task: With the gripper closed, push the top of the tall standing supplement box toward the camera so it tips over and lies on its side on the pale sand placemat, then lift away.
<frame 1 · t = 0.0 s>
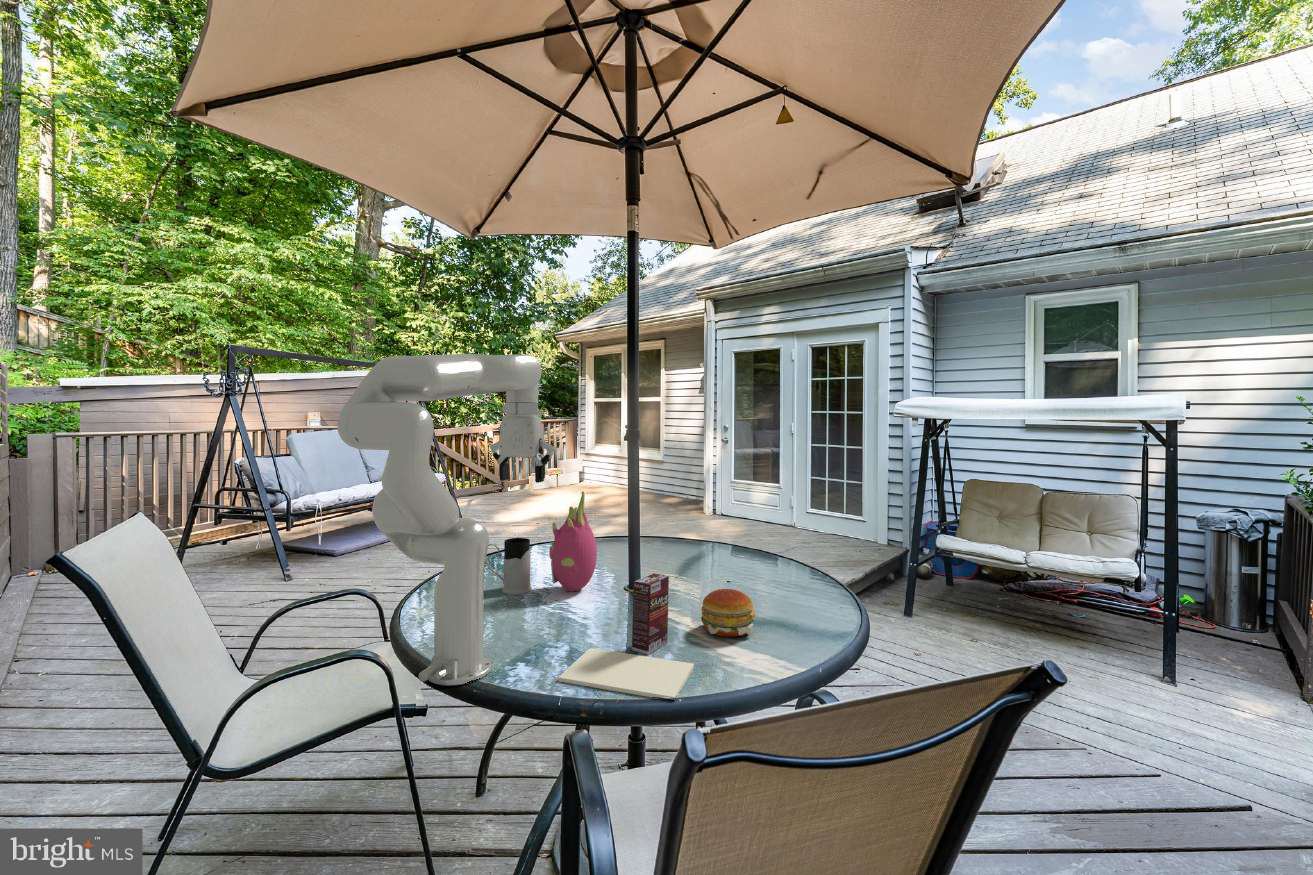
hand: (521, 481, 137), 37 cm above the table, tool pointing down, fingers open, 9 cm apart
placemat: (628, 674, 115), on the table
supplement box: (650, 647, 129), on the table
pink dragon fruit: (573, 590, 170), on the table
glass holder: (508, 590, 170), on the table
burger: (727, 631, 140), on the table
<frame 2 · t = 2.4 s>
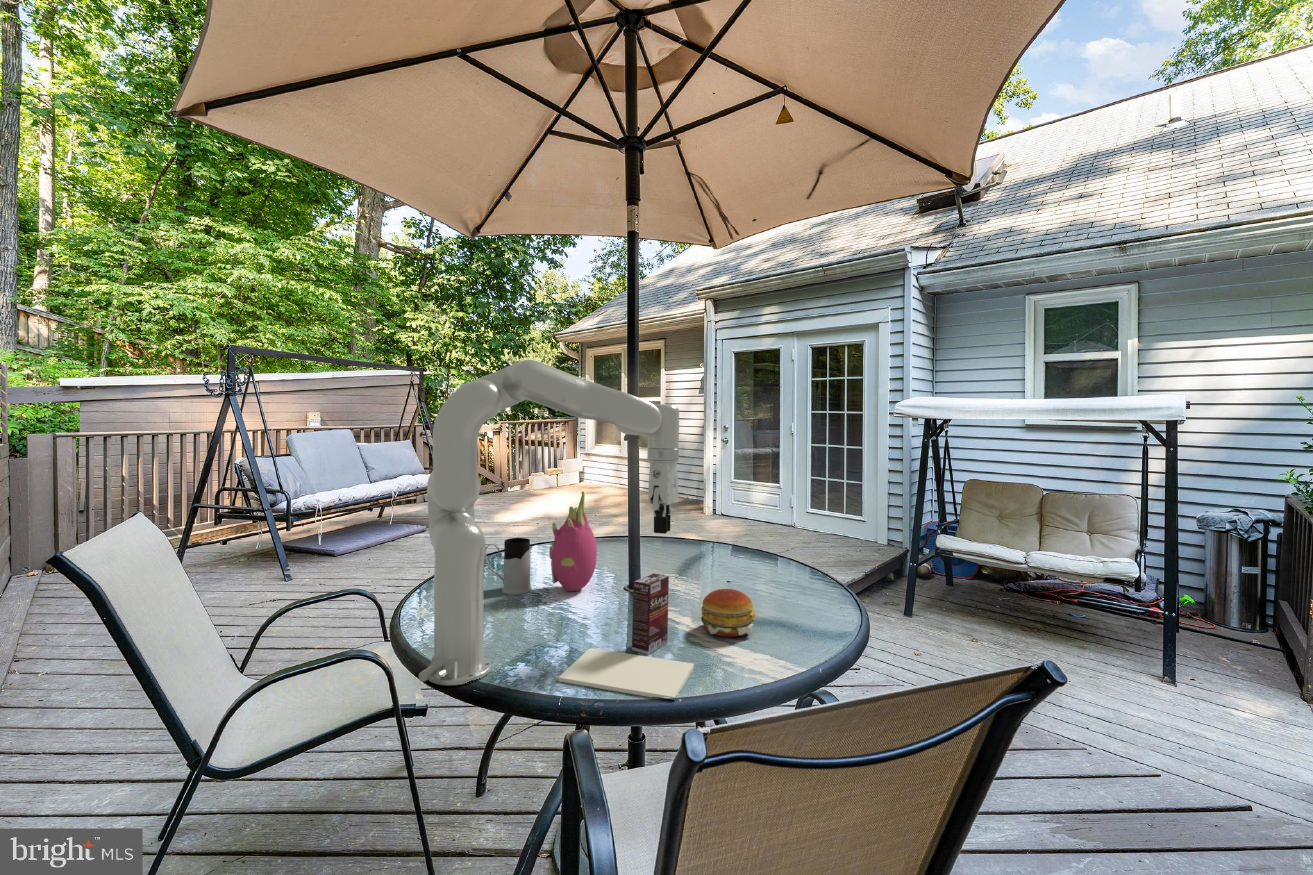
hand: (662, 531, 136), 25 cm above the table, tool pointing down, fingers closed
nothing on the table moved.
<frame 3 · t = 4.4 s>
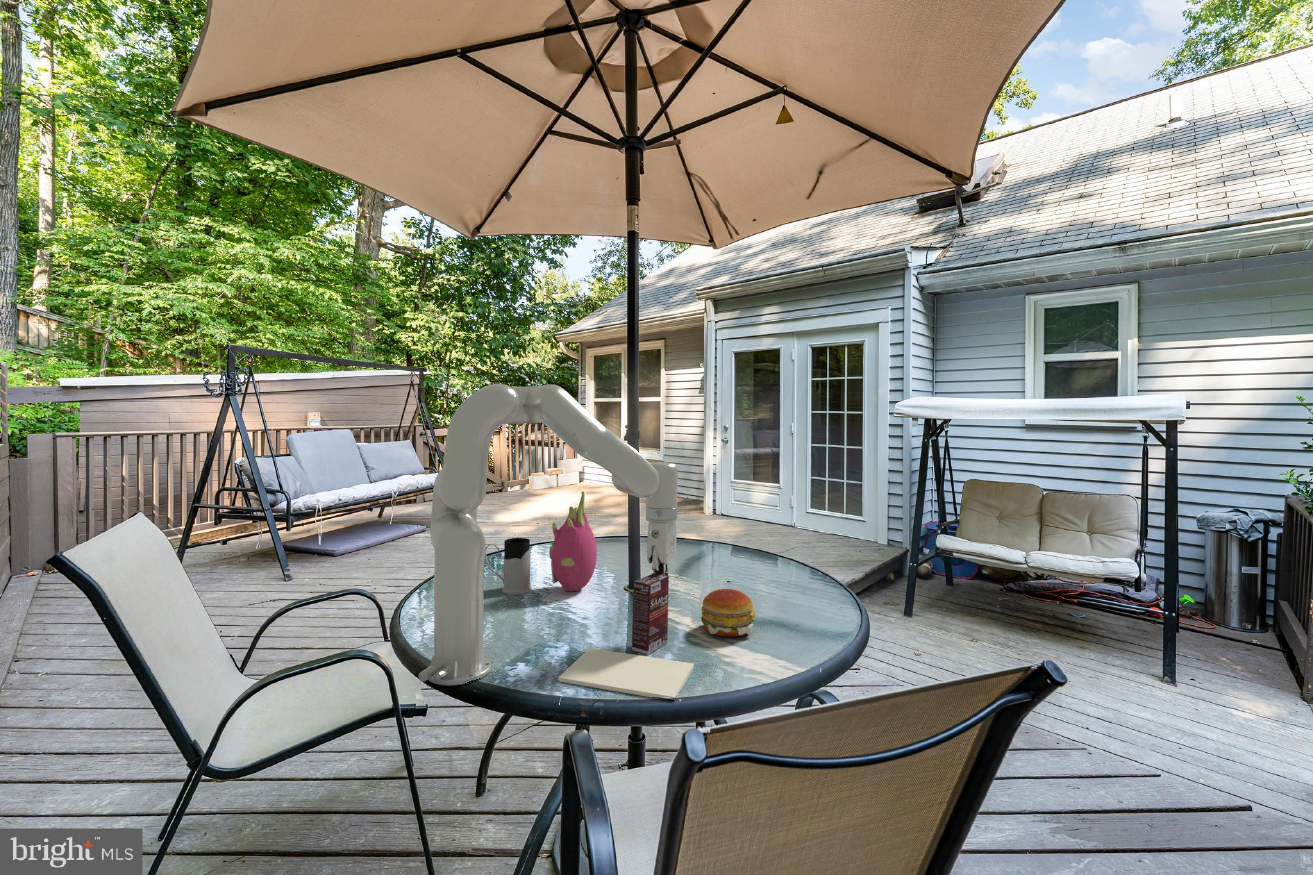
hand: (660, 589, 136), 11 cm above the table, tool pointing down, fingers closed
supplement box: (650, 647, 129), on the table, touching gripper
everything else where it was.
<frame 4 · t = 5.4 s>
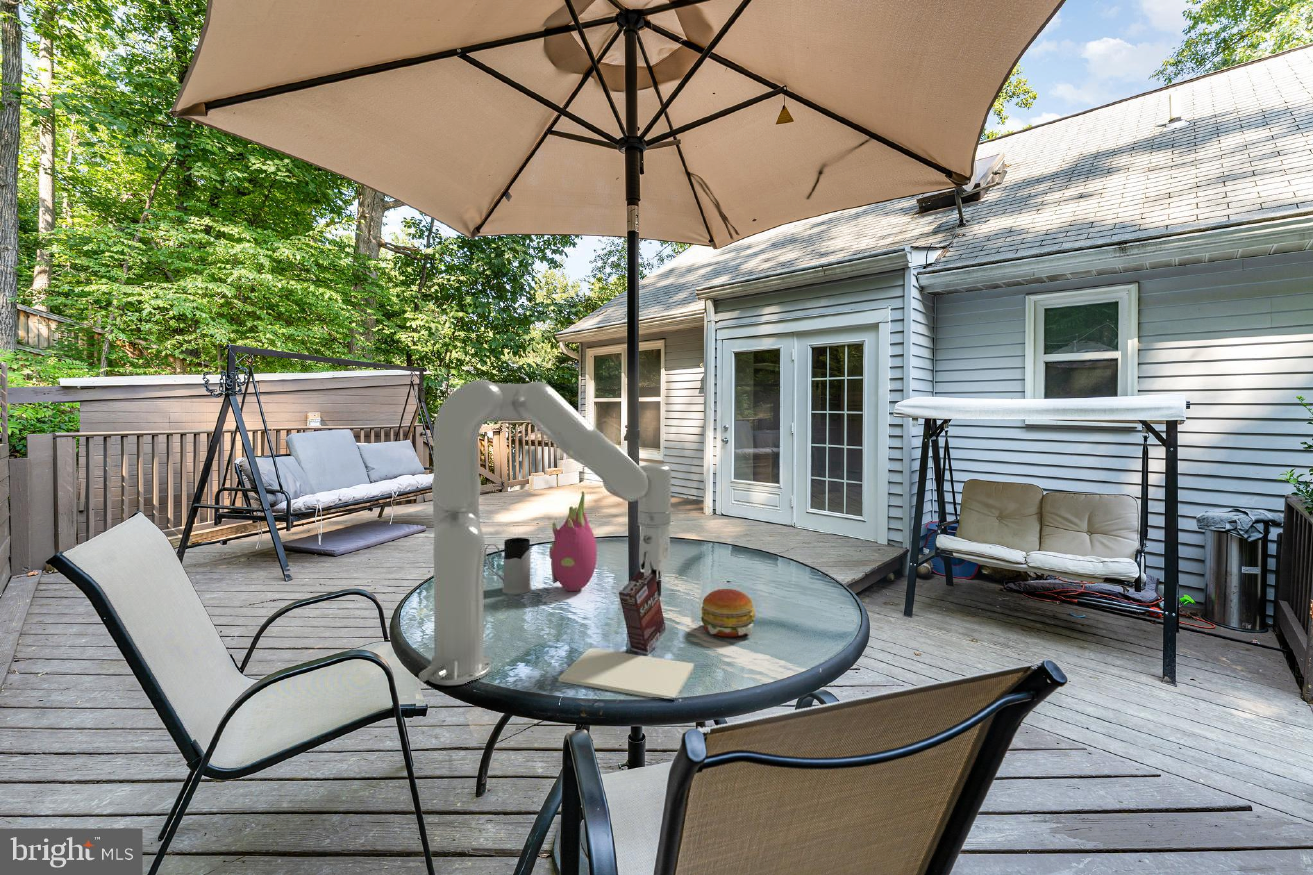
hand: (653, 596, 130), 11 cm above the table, tool pointing down, fingers closed
supplement box: (649, 641, 129), point 1 cm above the table, touching gripper
everything else where it was.
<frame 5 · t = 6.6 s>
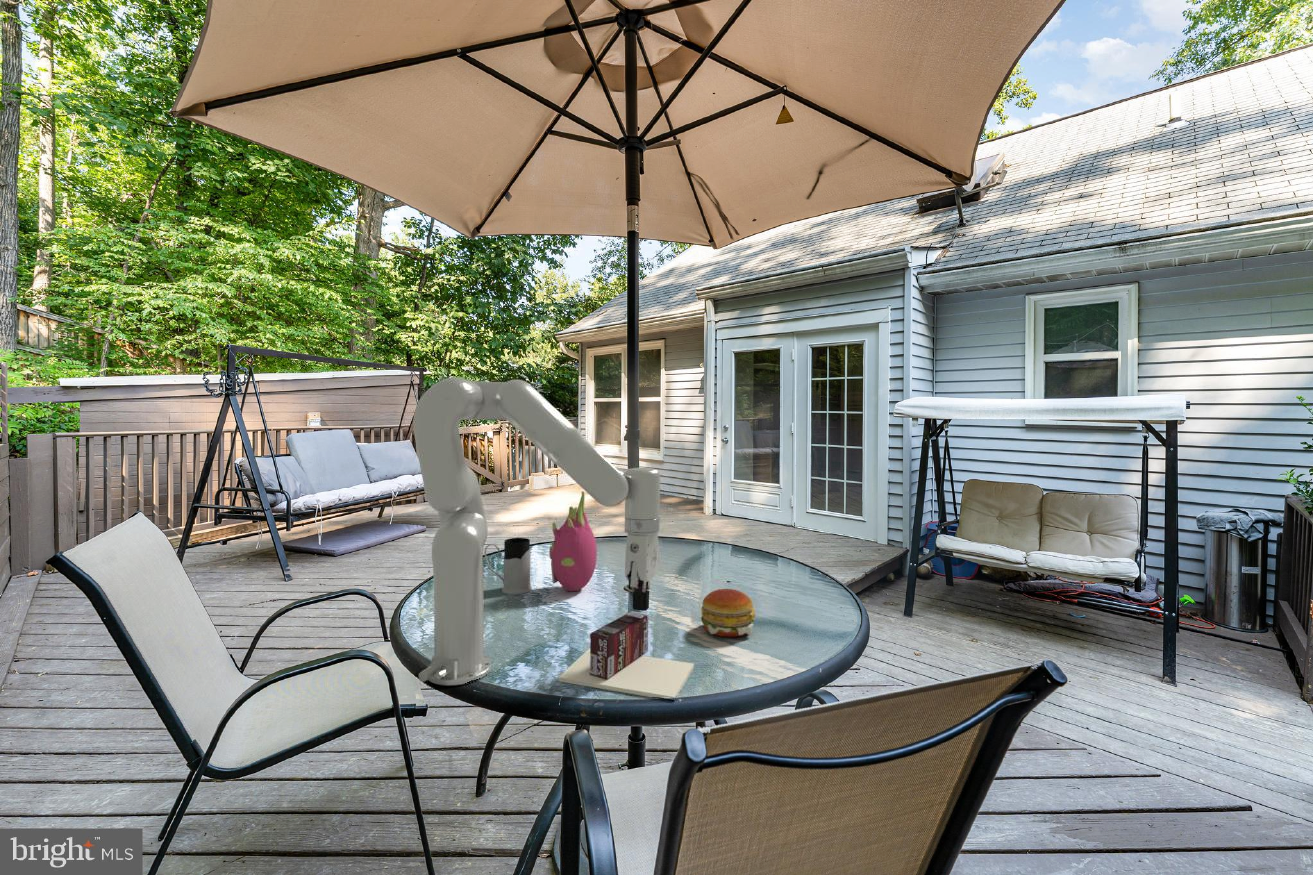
hand: (640, 608, 122), 11 cm above the table, tool pointing down, fingers closed
supplement box: (641, 630, 125), point 5 cm above the table, touching placemat
everything else where it was.
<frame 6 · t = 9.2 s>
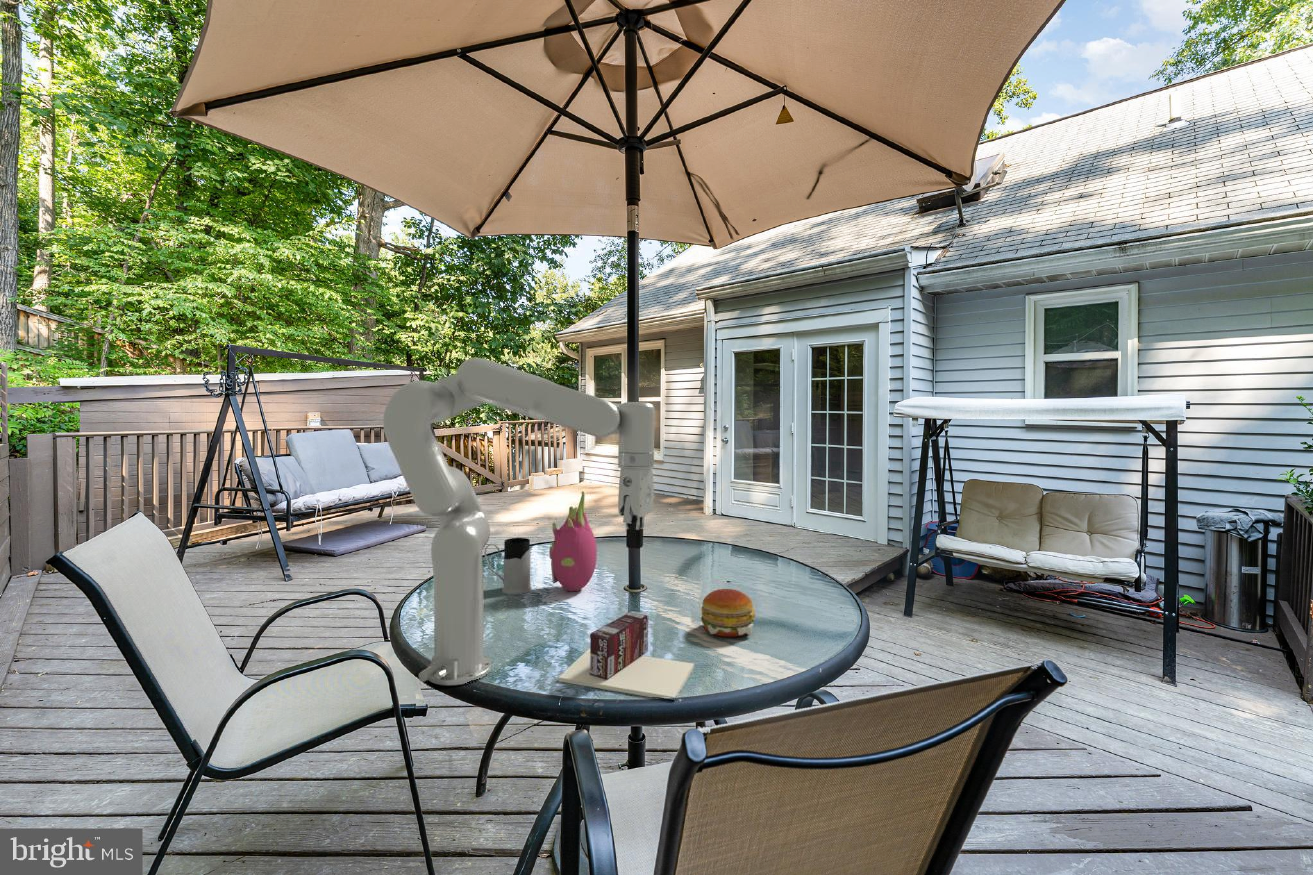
hand: (634, 547, 119), 25 cm above the table, tool pointing down, fingers closed
nothing on the table moved.
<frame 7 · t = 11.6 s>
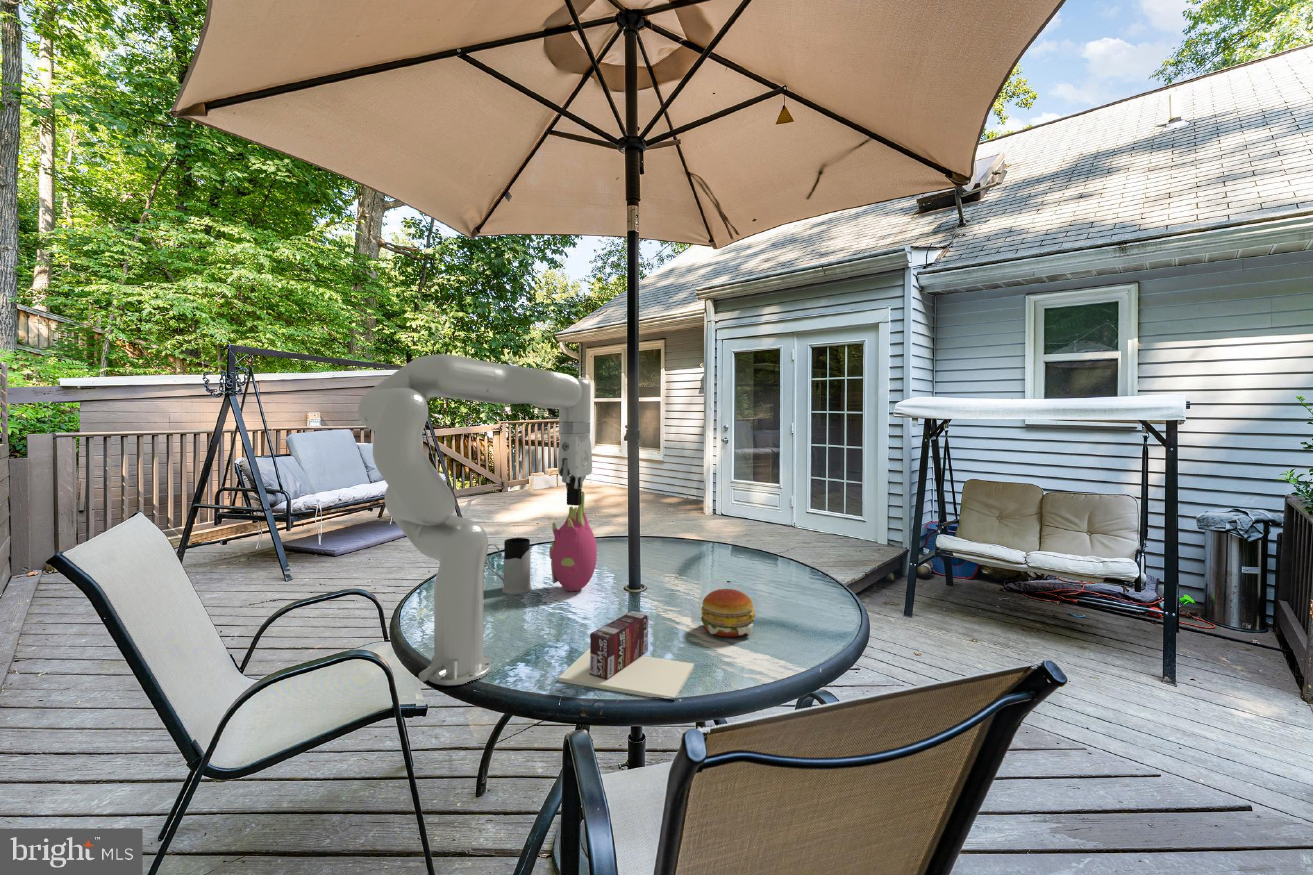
hand: (574, 504, 137), 31 cm above the table, tool pointing down, fingers closed
nothing on the table moved.
at the end: supplement box tilted 91°; supplement box touching placemat; supplement box inside the target area (1.9 cm from its centre), point 5.2 cm above the table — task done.
